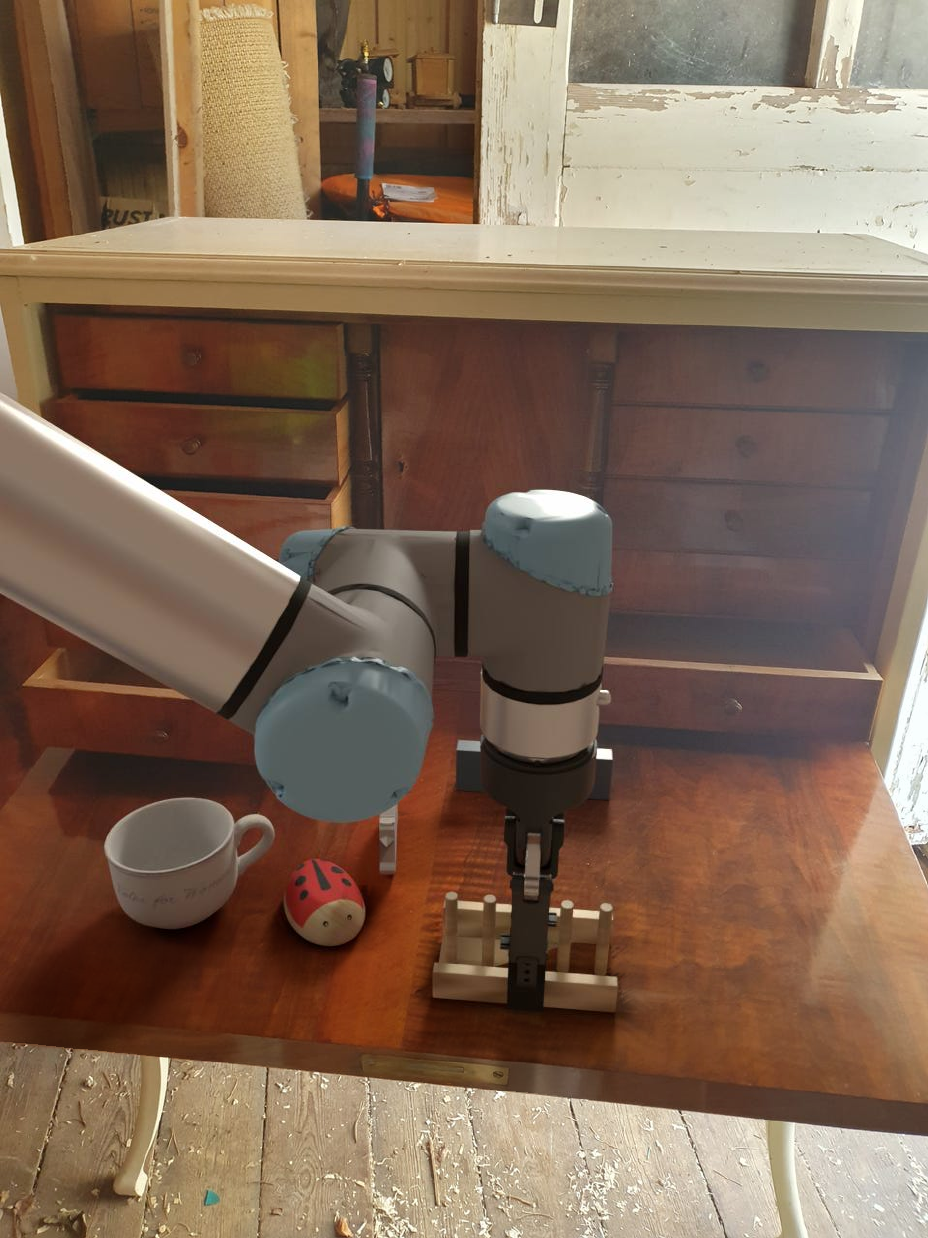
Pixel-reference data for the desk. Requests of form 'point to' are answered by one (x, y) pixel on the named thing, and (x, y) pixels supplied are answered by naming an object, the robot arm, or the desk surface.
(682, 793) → the desk surface
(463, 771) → the back rail
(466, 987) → the rack
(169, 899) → the teacup
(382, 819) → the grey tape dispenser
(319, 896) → the ladybug figurine
